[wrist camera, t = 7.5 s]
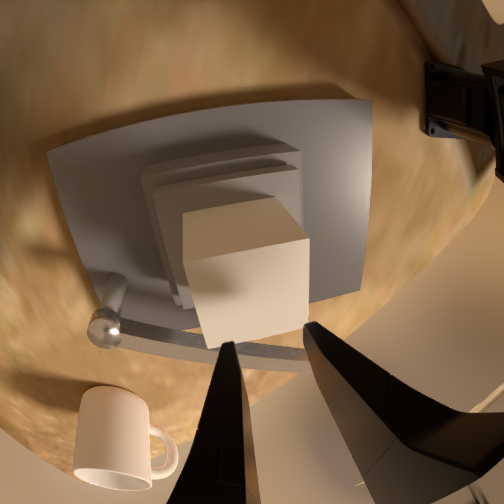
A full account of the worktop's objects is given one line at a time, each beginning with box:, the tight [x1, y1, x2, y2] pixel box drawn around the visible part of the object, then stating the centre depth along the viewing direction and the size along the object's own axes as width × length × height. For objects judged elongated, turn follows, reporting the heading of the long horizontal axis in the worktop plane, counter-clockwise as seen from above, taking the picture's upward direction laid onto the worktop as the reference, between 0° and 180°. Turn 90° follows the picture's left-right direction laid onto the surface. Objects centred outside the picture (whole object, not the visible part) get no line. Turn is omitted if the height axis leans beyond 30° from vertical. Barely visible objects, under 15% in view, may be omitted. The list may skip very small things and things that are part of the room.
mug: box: [73, 386, 178, 491], centre depth 25 cm, size 12×8×10 cm
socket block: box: [46, 98, 372, 330], centre depth 18 cm, size 20×15×6 cm
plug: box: [152, 164, 310, 349], centre depth 14 cm, size 7×7×8 cm
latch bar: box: [87, 308, 313, 373], centre depth 18 cm, size 19×2×1 cm, turn 67°
